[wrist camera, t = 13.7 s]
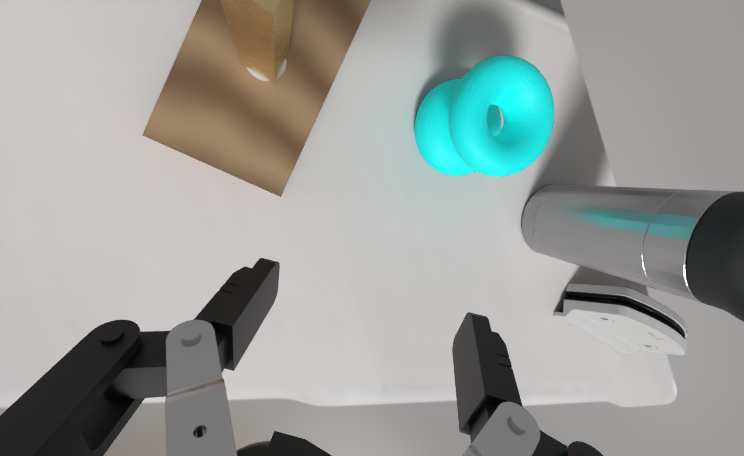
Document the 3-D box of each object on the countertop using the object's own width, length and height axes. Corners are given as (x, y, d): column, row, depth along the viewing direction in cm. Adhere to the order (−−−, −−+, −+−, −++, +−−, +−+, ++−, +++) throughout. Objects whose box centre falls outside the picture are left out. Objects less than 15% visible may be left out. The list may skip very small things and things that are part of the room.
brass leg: (274, 83, 28) (273, 14, 16) (241, 64, 27) (212, -25, 15) (288, 51, 28) (298, -42, 16) (255, 31, 27) (238, -84, 15)
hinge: (550, 314, 45) (633, 322, 36) (556, 282, 46) (638, 283, 37) (619, 353, 50) (706, 369, 41) (622, 324, 52) (707, 333, 43)
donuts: (525, 197, 28) (439, 136, 25) (463, 191, 38) (394, 146, 34) (580, 97, 28) (500, 22, 25) (503, 116, 38) (438, 63, 34)
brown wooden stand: (280, 195, 32) (283, 213, 18) (149, 137, 28) (26, 102, 14) (378, -20, 31) (459, -171, 17) (258, -110, 27) (240, -397, 14)
